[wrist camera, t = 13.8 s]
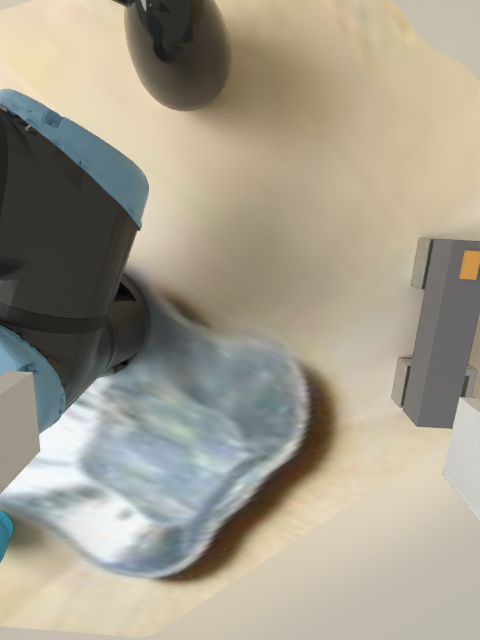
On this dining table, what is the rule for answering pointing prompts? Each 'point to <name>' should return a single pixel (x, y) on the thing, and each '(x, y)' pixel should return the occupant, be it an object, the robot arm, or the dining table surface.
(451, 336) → the grey rectangular bar
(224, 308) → the dining table surface
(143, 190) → the robot arm
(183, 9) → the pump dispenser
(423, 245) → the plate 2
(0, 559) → the perfume bottle
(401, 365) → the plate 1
